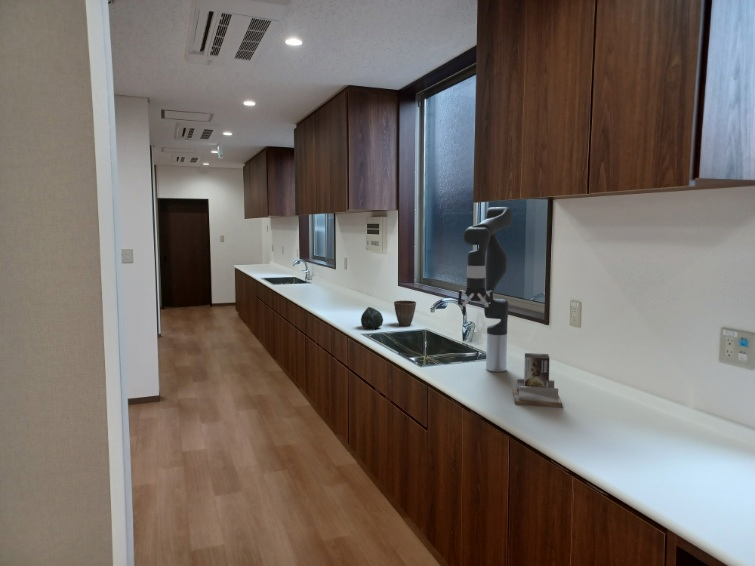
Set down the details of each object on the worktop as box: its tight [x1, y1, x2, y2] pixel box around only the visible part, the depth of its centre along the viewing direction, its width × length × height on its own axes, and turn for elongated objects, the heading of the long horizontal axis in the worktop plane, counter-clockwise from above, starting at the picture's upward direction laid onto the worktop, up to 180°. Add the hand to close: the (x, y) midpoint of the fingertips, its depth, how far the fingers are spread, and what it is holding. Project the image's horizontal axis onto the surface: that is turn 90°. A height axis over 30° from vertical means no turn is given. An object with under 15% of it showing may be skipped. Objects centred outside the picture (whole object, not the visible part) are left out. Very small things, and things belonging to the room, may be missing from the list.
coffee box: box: [523, 352, 551, 388], centre depth 201 cm, size 9×6×16 cm
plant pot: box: [393, 300, 417, 327], centre depth 351 cm, size 15×15×16 cm
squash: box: [360, 306, 384, 330], centre depth 342 cm, size 14×15×15 cm
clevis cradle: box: [512, 377, 563, 408], centre depth 201 cm, size 14×17×6 cm
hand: (475, 315), depth 216 cm, fingers open, 8 cm apart
